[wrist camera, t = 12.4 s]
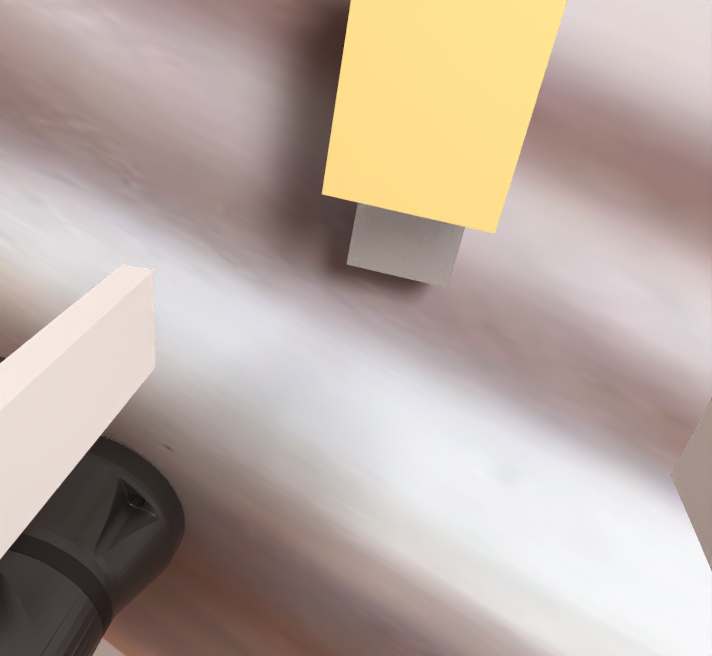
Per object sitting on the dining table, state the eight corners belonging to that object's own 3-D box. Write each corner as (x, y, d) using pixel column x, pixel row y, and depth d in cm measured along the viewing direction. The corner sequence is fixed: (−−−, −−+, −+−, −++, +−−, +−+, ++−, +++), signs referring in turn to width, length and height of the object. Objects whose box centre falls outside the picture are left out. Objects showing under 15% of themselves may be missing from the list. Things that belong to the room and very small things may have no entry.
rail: (357, 240, 37) (346, 264, 34) (449, -250, 25) (446, -281, 22) (450, 262, 36) (447, 288, 33) (585, -225, 25) (599, -254, 22)
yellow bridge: (351, 152, 33) (321, 194, 27) (394, -102, 27) (370, -127, 21) (491, 183, 33) (494, 233, 26) (564, -69, 27) (593, -84, 21)
